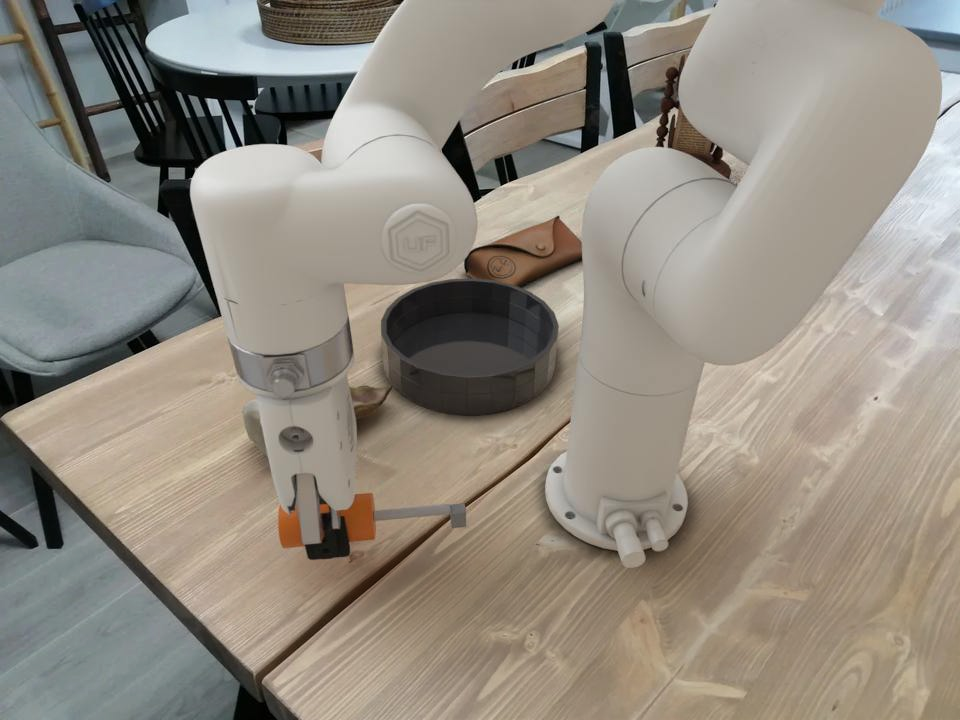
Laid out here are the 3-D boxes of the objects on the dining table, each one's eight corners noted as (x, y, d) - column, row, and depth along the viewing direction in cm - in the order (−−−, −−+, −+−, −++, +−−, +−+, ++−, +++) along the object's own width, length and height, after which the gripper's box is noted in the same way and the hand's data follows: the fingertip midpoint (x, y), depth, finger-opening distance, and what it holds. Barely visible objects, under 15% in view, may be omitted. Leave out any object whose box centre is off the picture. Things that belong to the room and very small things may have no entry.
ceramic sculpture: (199, 377, 65) (312, 309, 76) (213, 452, 70) (318, 377, 81) (291, 420, 61) (397, 341, 72) (299, 496, 66) (397, 411, 77)
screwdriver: (284, 558, 57) (276, 527, 55) (289, 522, 60) (281, 491, 57) (468, 540, 58) (467, 509, 56) (463, 505, 61) (462, 474, 59)
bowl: (570, 409, 77) (575, 371, 74) (384, 420, 75) (381, 381, 72) (538, 310, 92) (541, 275, 89) (383, 317, 90) (380, 281, 87)
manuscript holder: (638, 193, 121) (658, 65, 109) (639, 160, 132) (657, 42, 121) (731, 201, 119) (762, 72, 107) (723, 167, 130) (750, 47, 119)
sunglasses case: (507, 295, 93) (490, 245, 92) (474, 300, 99) (458, 253, 98) (599, 251, 103) (584, 205, 102) (564, 258, 109) (550, 215, 108)
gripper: (347, 426, 41) (379, 620, 52) (354, 275, 54) (378, 455, 65) (209, 437, 40) (270, 631, 51) (250, 282, 54) (292, 462, 65)
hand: (330, 531), depth 58 cm, fingers closed on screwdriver, 3 cm apart
